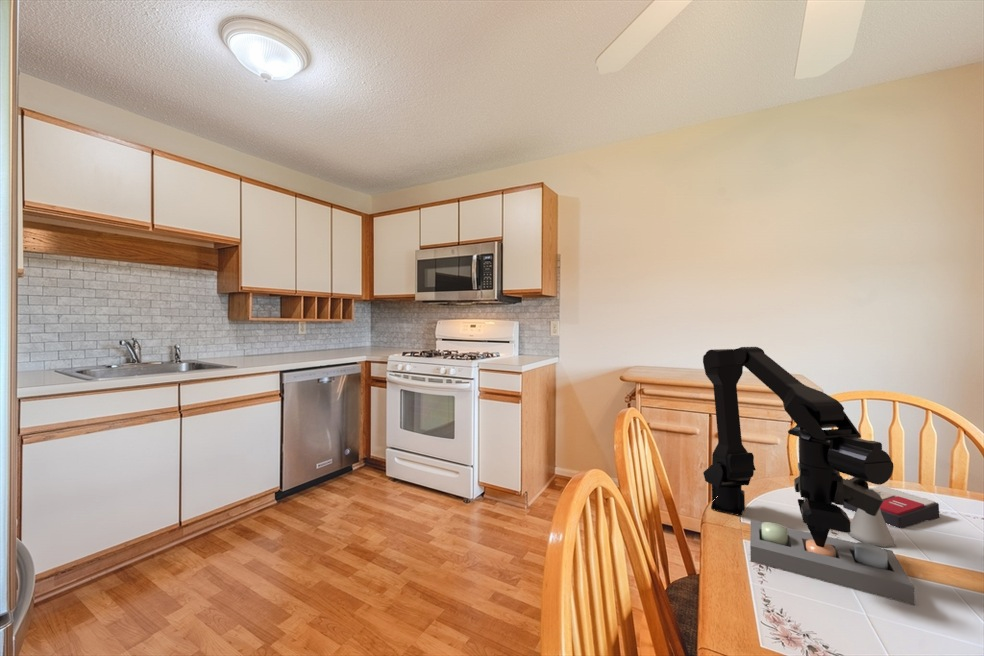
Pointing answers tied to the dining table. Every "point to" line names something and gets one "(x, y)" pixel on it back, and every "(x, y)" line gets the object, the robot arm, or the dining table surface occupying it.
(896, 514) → the black product box
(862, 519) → the flask
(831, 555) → the button terracotta
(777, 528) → the button sage
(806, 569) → the button panel
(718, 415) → the robot arm
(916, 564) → the dining table surface
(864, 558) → the button blue
